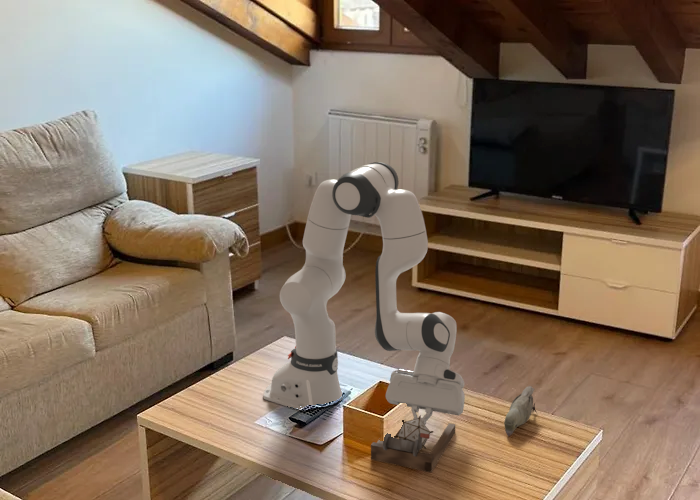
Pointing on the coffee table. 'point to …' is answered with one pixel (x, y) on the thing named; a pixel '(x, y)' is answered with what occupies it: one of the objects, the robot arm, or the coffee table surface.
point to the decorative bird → (519, 410)
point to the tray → (411, 450)
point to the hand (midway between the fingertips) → (418, 425)
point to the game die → (413, 430)
